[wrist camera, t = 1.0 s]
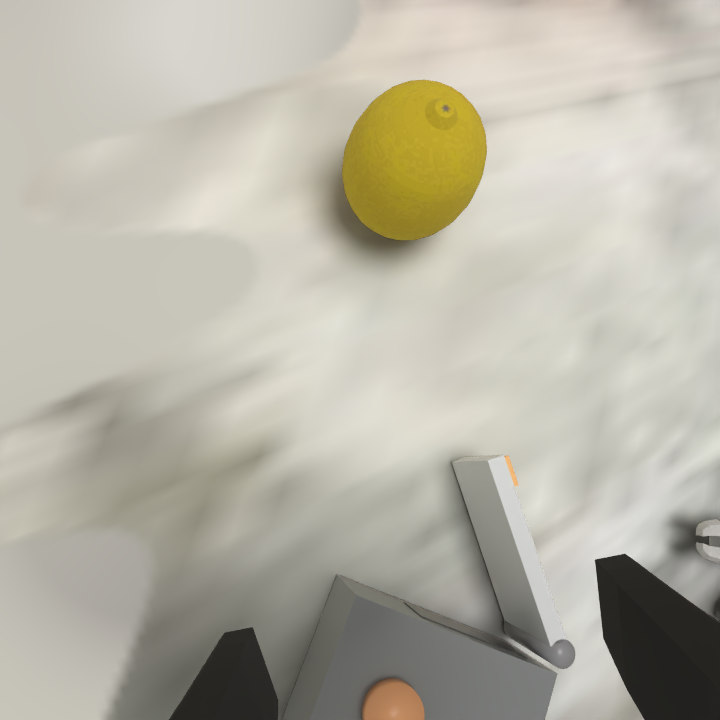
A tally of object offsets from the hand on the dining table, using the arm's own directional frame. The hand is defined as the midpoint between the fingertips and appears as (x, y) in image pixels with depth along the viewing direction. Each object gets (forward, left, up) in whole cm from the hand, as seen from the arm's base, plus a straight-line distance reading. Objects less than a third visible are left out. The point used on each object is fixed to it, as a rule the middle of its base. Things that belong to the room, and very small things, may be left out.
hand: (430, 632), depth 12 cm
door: (+3, -6, -12) cm, 14 cm away
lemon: (+15, +4, -13) cm, 20 cm away
